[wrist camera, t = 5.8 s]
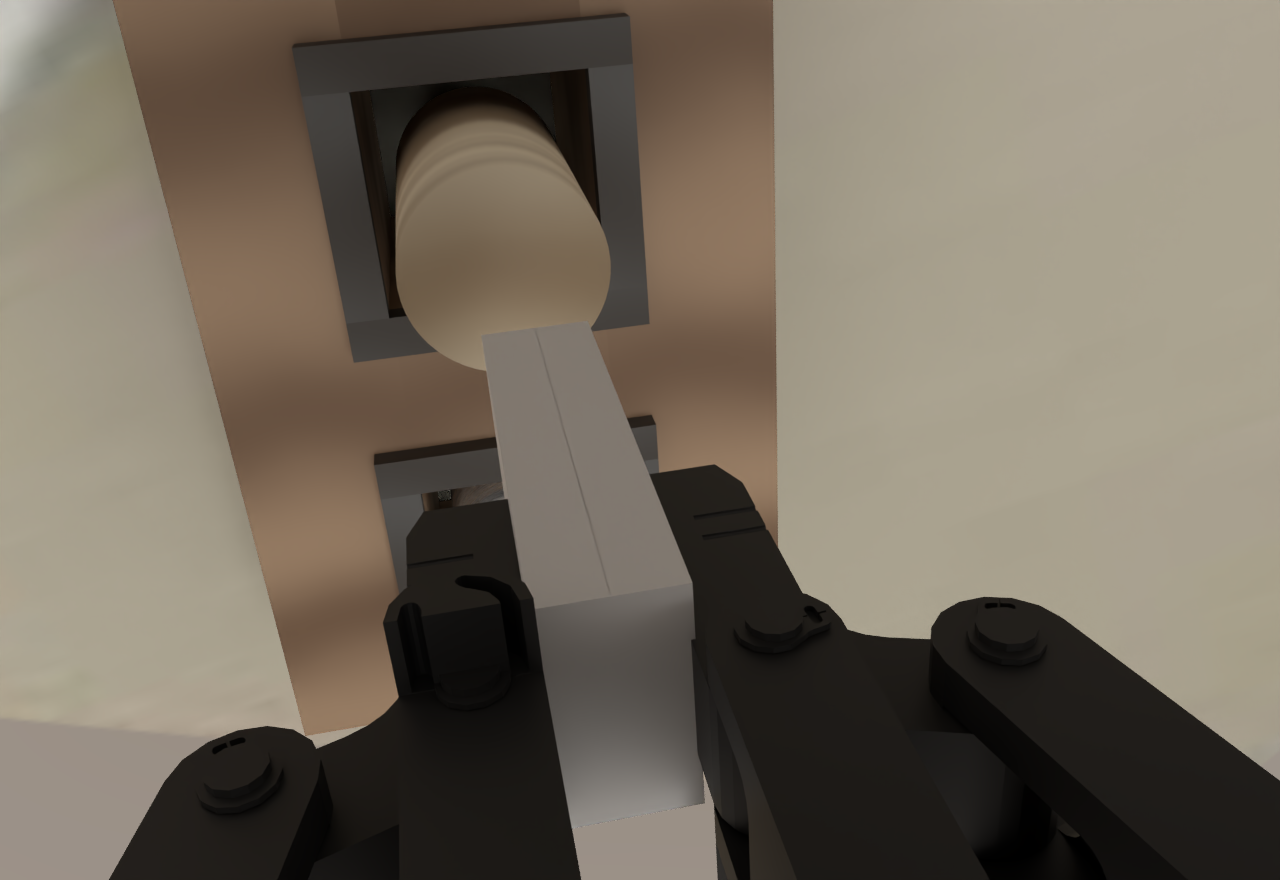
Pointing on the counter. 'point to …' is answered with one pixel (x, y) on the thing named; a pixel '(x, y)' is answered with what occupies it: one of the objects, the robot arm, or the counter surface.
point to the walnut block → (366, 268)
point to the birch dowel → (491, 225)
